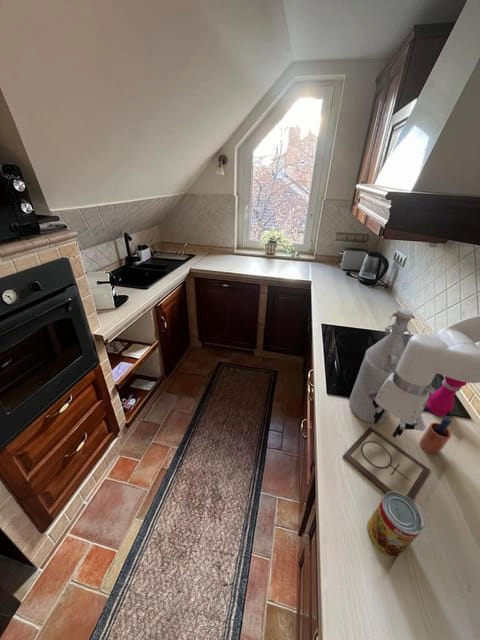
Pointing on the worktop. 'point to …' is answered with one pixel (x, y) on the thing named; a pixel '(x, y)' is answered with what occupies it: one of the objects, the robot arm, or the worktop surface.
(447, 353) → the robot arm
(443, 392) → the pepper mill
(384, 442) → the framed female symbol sign
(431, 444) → the pen cup
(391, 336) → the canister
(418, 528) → the canned food
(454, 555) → the worktop surface
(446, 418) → the marker
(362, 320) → the worktop surface
